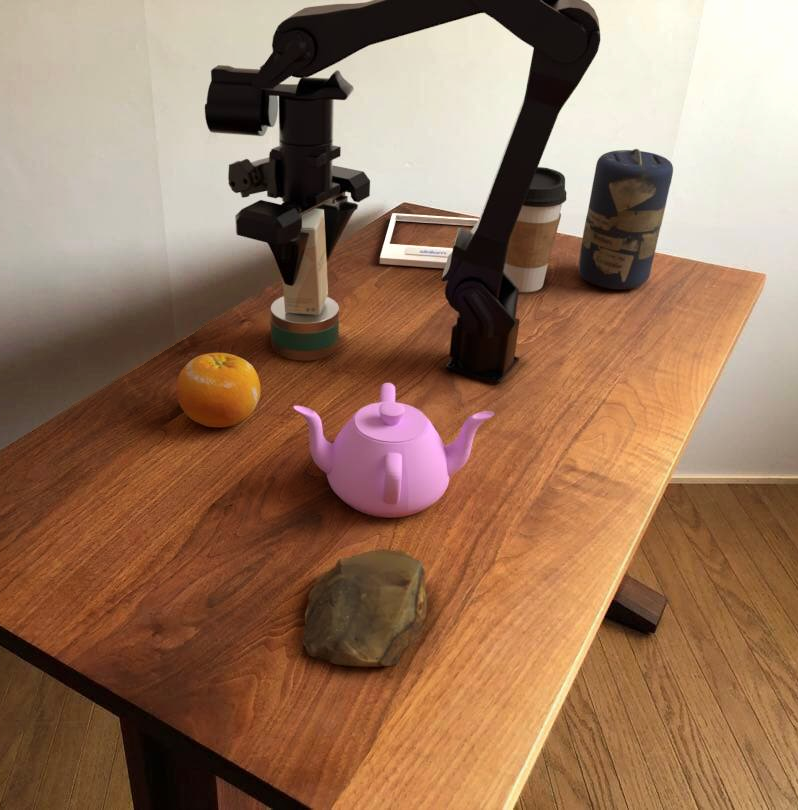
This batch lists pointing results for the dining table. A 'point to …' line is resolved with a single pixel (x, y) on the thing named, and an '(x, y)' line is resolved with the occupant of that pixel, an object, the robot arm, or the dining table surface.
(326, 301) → the tin can
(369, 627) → the decorative stone
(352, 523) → the dining table surface
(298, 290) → the box
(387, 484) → the teapot
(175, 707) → the dining table surface
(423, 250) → the photo frame
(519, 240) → the coffee cup
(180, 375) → the fruit
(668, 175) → the canister
